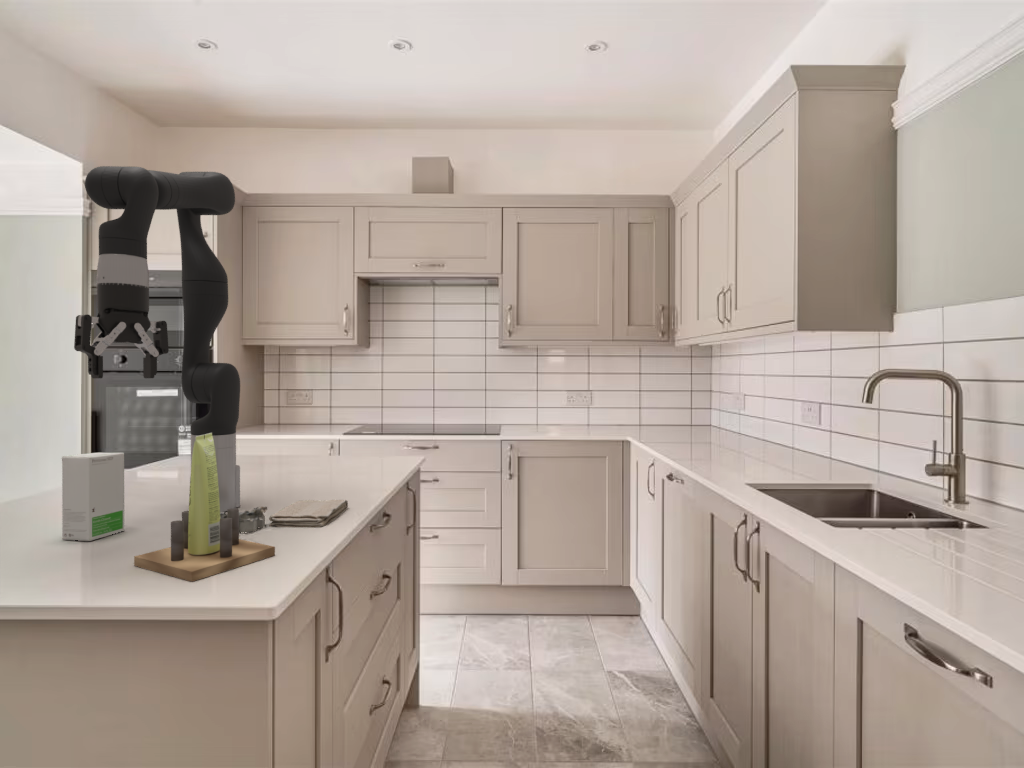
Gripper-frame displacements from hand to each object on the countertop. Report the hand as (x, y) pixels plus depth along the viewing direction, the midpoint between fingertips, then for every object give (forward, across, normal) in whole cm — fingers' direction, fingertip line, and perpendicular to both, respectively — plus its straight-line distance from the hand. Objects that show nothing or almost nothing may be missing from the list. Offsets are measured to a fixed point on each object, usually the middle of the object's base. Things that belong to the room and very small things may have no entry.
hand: (124, 378), depth 104 cm
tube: (+29, +4, -16) cm, 33 cm away
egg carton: (+31, +20, -2) cm, 37 cm away
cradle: (+30, +4, -16) cm, 35 cm away
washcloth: (+31, +34, -8) cm, 47 cm away
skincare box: (+30, +3, +16) cm, 34 cm away
